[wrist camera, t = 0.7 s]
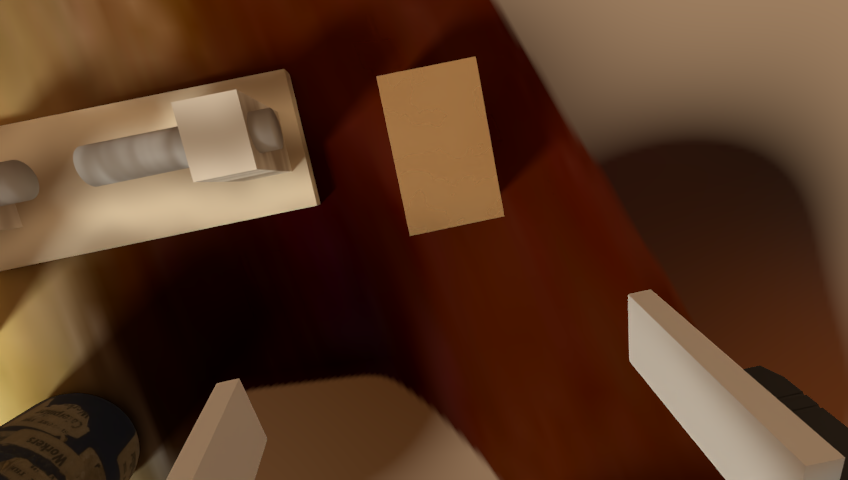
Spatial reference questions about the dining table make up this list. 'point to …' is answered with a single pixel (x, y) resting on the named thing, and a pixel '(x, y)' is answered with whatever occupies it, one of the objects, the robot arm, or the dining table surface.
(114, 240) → the shaft rig
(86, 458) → the canister
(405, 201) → the block
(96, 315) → the dining table surface
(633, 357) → the robot arm
